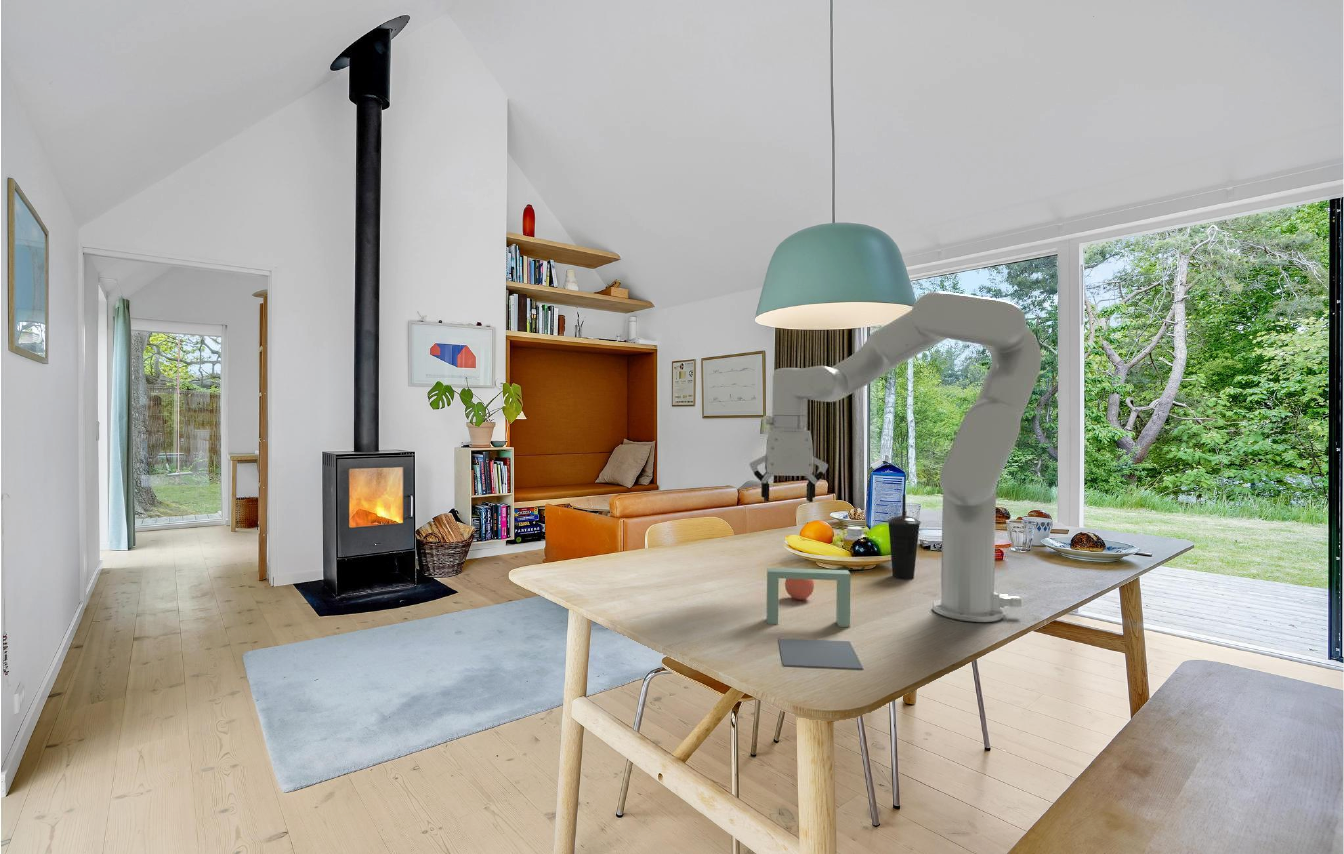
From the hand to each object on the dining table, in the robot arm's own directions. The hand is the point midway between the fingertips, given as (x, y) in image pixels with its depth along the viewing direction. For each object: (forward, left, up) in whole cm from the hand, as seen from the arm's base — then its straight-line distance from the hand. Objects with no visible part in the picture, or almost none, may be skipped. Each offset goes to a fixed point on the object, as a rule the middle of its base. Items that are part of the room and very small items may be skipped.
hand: (787, 501), depth 143 cm
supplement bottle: (-19, -25, -20) cm, 37 cm away
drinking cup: (-29, -16, -20) cm, 39 cm away
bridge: (-2, +23, -20) cm, 30 cm away
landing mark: (-2, +39, -20) cm, 44 cm away
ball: (-2, +7, -17) cm, 18 cm away
